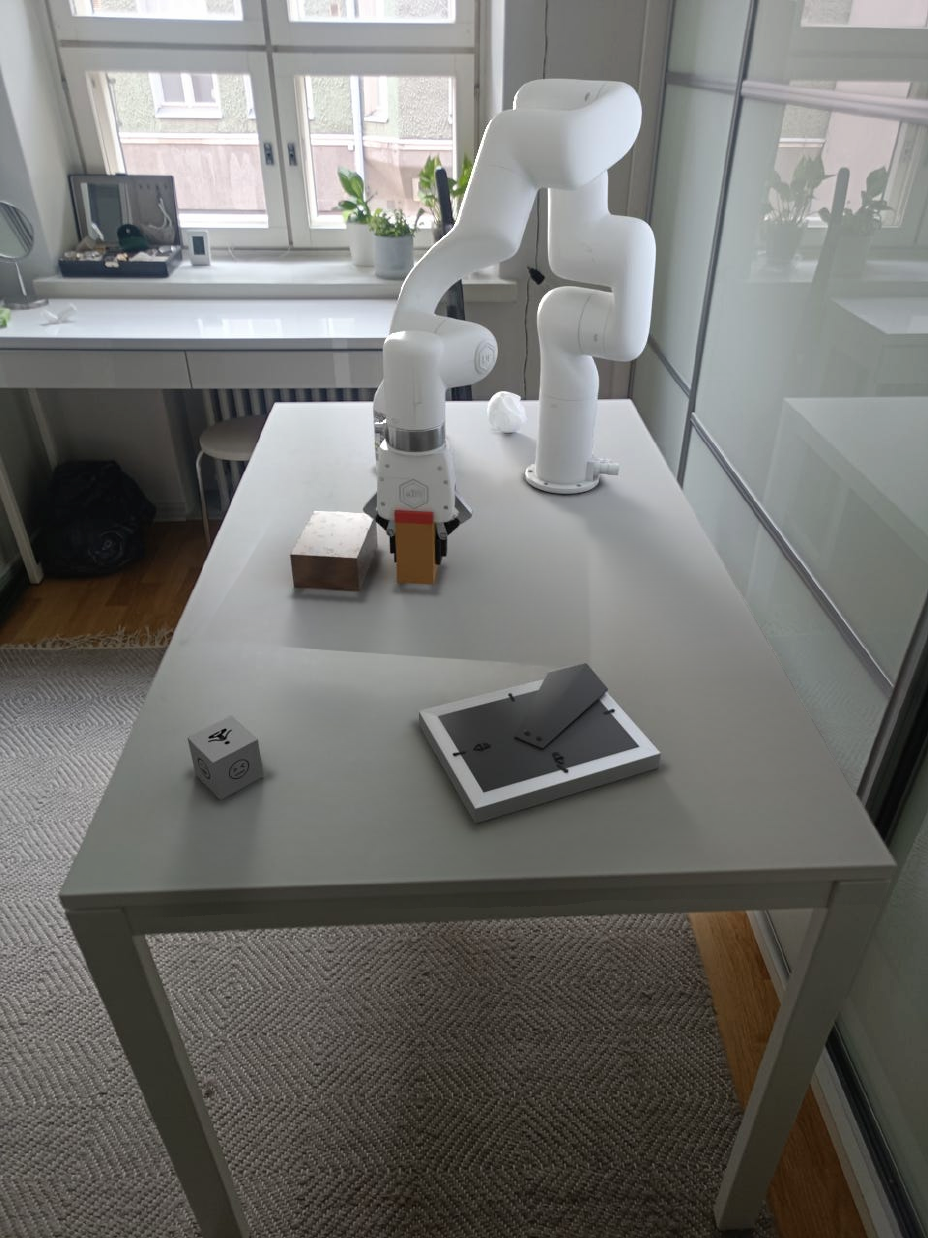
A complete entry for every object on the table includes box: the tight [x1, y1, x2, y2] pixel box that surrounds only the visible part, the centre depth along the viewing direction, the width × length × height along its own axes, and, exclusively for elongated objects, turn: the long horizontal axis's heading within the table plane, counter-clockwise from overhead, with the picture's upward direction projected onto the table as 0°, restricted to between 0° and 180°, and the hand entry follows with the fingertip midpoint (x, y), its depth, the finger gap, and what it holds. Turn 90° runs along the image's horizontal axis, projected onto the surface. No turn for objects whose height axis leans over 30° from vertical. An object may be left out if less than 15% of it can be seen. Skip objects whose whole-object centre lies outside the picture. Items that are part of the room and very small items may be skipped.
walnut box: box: [289, 510, 379, 593], centre depth 122 cm, size 9×13×6 cm
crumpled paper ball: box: [486, 390, 528, 434], centre depth 167 cm, size 8×8×8 cm
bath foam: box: [372, 378, 386, 473], centre depth 147 cm, size 7×7×20 cm
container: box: [394, 510, 440, 585], centre depth 119 cm, size 11×7×13 cm
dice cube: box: [187, 714, 265, 801], centre depth 88 cm, size 5×5×5 cm
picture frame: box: [418, 662, 662, 825], centre depth 93 cm, size 16×3×21 cm
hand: (418, 557), depth 120 cm, fingers closed on container, 5 cm apart
